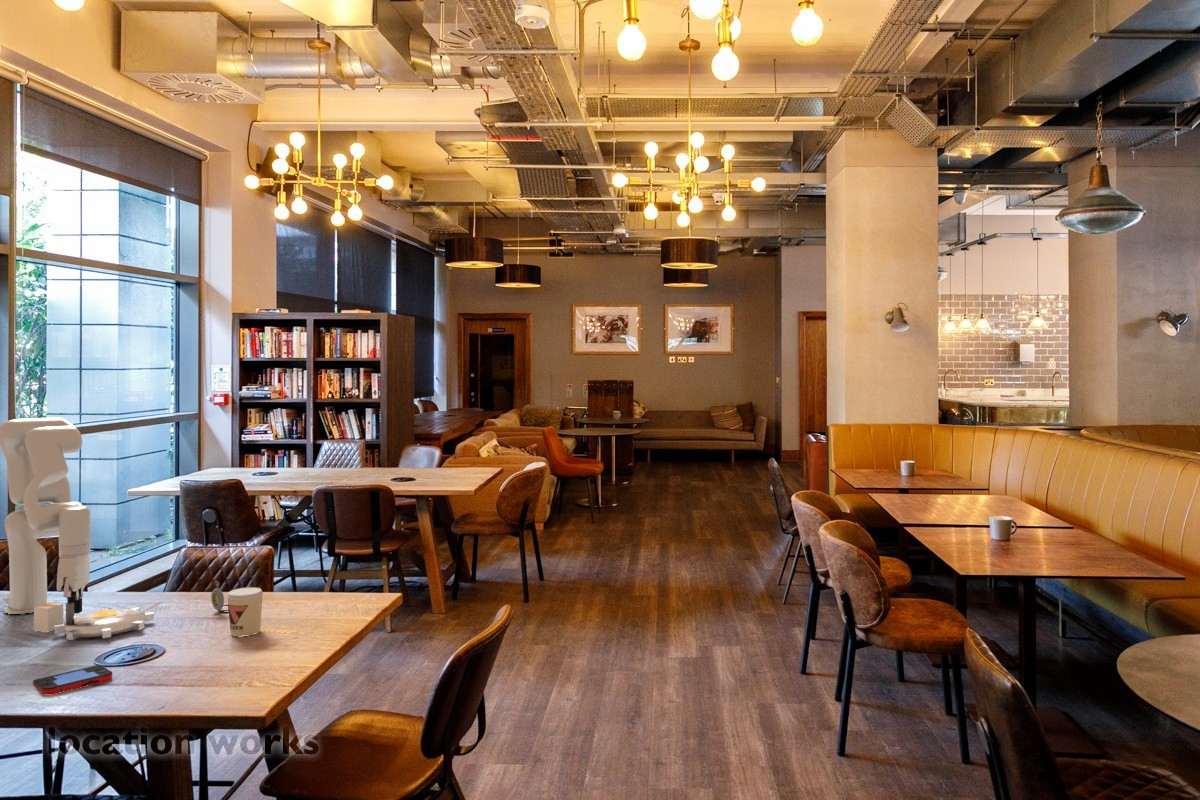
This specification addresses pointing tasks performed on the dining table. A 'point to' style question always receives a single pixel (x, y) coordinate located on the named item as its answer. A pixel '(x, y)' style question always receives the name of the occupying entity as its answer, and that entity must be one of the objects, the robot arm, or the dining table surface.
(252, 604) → the coffee cup
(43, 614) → the link block
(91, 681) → the game console
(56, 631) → the sprocket
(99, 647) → the dining table surface
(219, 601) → the pocket watch
